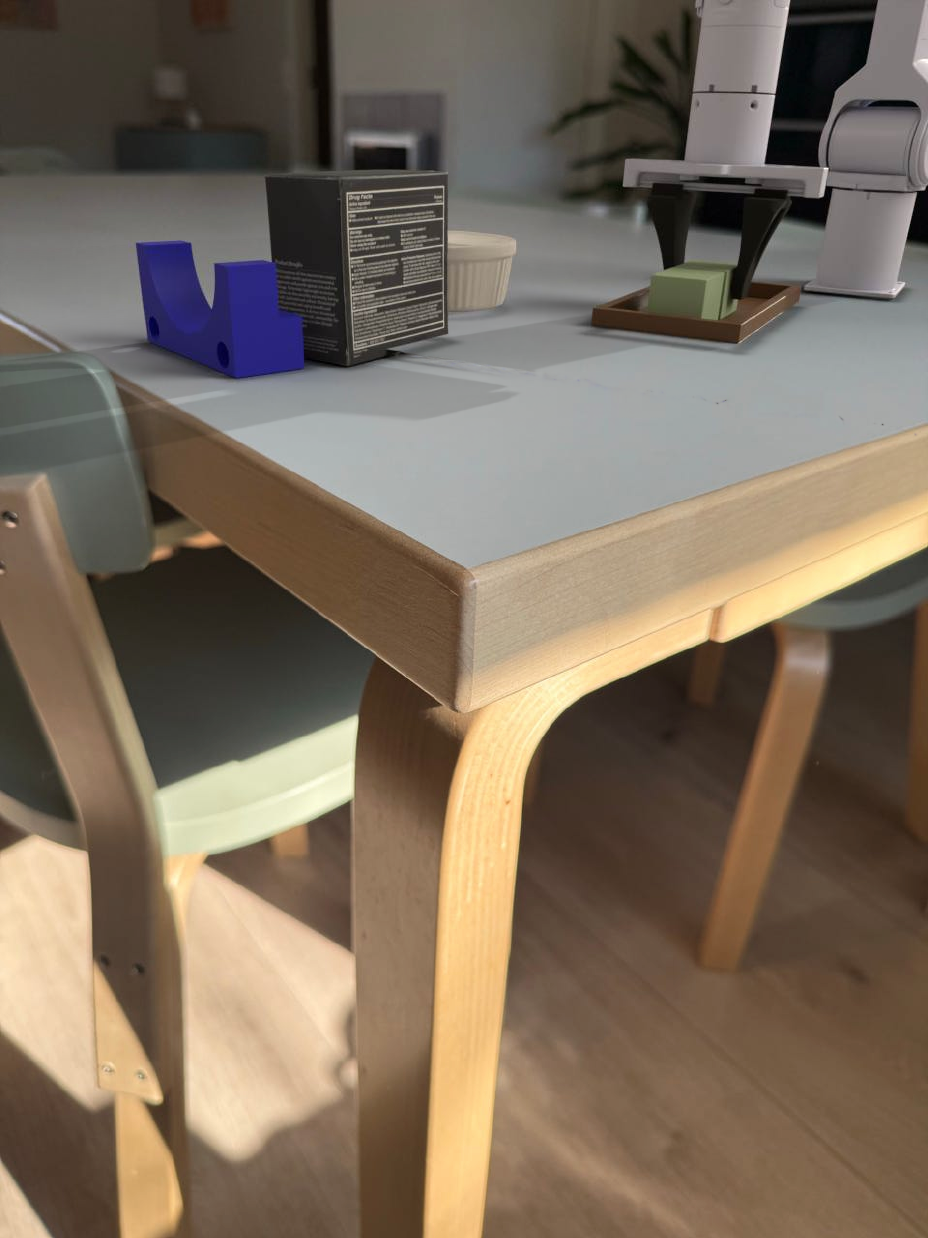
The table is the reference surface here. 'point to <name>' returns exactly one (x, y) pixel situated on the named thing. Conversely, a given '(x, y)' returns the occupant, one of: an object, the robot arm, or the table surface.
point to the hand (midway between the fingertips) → (705, 294)
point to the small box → (361, 258)
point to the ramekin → (477, 269)
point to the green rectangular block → (686, 293)
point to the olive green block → (726, 302)
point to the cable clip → (218, 312)
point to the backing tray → (734, 328)
